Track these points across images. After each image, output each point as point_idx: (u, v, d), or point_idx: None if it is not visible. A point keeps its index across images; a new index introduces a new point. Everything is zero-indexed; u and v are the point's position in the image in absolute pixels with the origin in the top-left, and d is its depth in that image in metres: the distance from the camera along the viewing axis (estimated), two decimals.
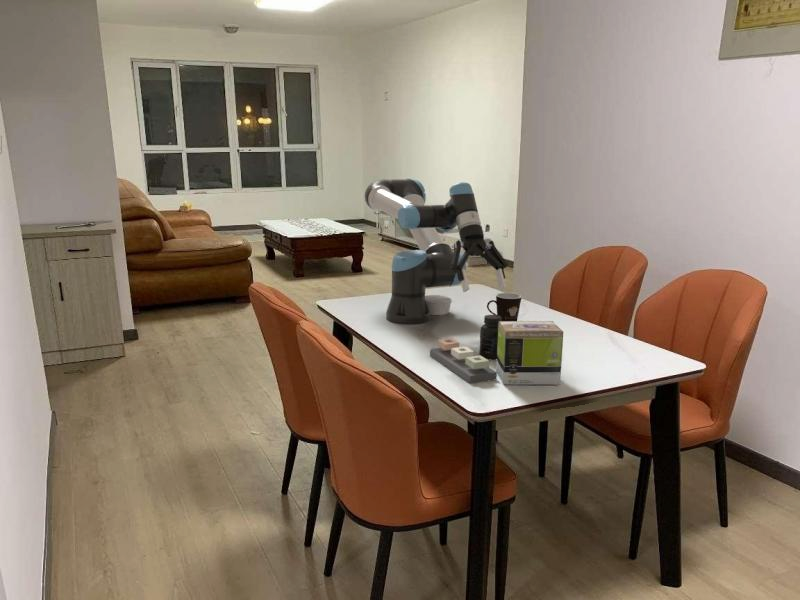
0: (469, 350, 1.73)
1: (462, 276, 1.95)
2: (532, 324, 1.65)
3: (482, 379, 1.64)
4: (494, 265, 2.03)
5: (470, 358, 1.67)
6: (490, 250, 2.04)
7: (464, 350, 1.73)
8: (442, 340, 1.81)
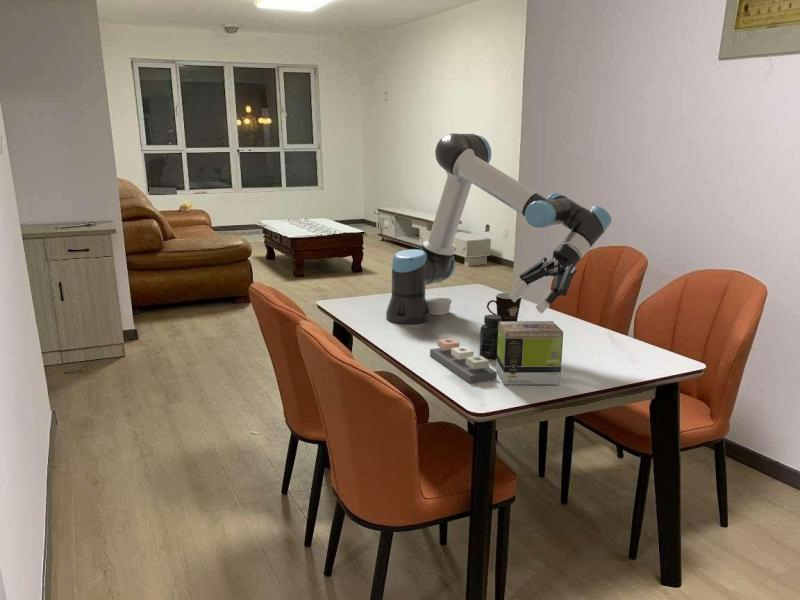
0: (469, 350, 1.73)
1: None
2: (532, 324, 1.65)
3: (482, 379, 1.64)
4: (530, 279, 1.91)
5: (470, 358, 1.67)
6: (541, 265, 1.91)
7: (464, 350, 1.73)
8: (442, 340, 1.81)
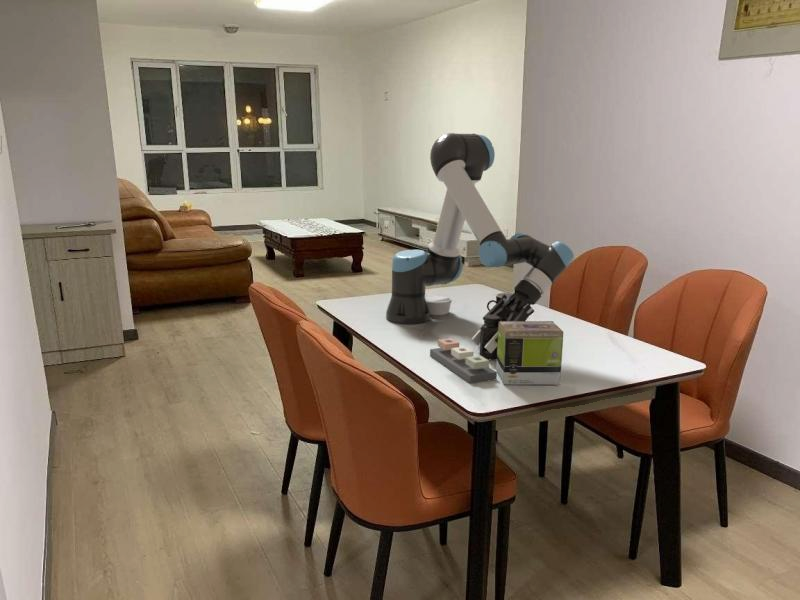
0: (469, 350, 1.73)
1: None
2: (532, 324, 1.65)
3: (482, 379, 1.64)
4: None
5: (470, 358, 1.67)
6: (502, 303, 1.88)
7: (464, 350, 1.73)
8: (442, 340, 1.81)
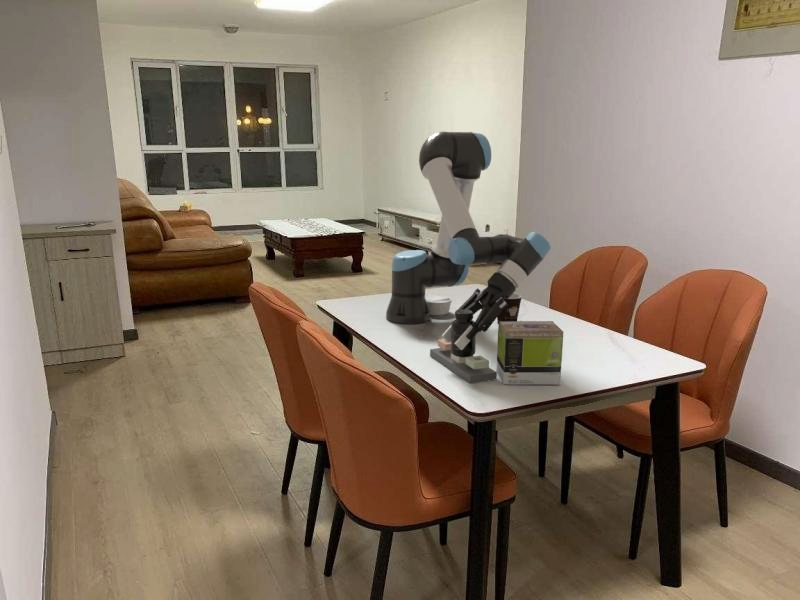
0: None
1: None
2: (532, 324, 1.65)
3: (482, 379, 1.64)
4: None
5: (470, 358, 1.67)
6: (475, 298, 1.78)
7: None
8: (442, 340, 1.81)
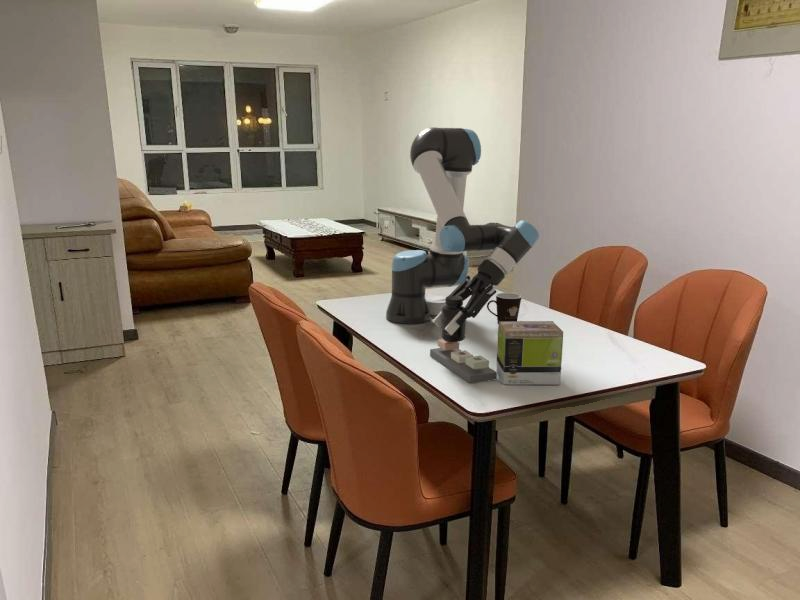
0: (469, 354, 1.73)
1: None
2: (532, 324, 1.65)
3: (482, 379, 1.64)
4: None
5: (470, 358, 1.67)
6: (465, 284, 1.82)
7: (464, 354, 1.73)
8: (442, 340, 1.81)
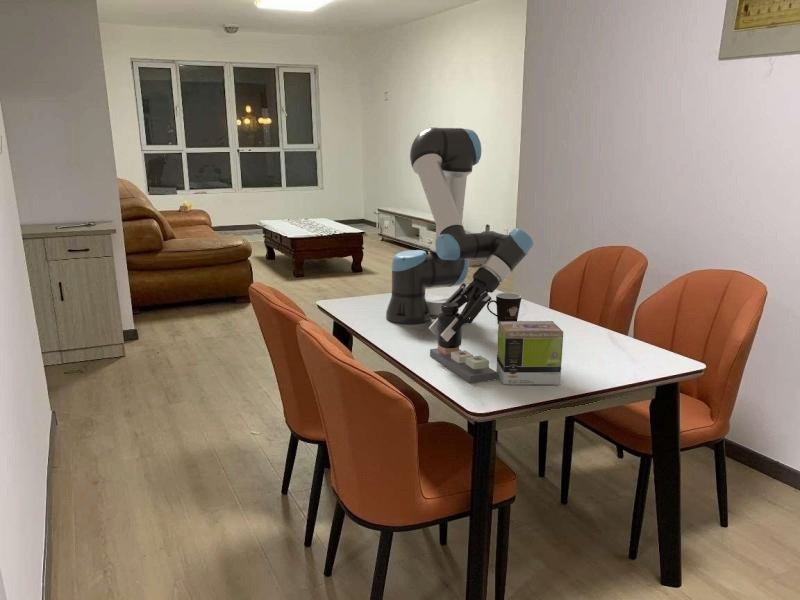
0: (469, 354, 1.73)
1: None
2: (532, 324, 1.65)
3: (482, 379, 1.64)
4: None
5: (470, 358, 1.67)
6: (461, 292, 1.85)
7: (464, 354, 1.73)
8: None
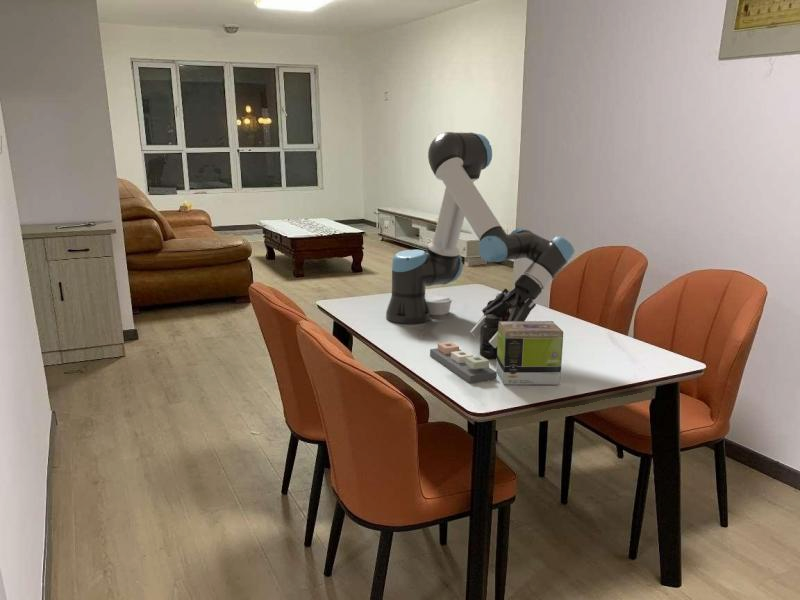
0: (469, 354, 1.73)
1: None
2: (532, 324, 1.65)
3: (482, 379, 1.64)
4: (492, 312, 1.87)
5: (470, 358, 1.67)
6: (503, 297, 1.88)
7: (464, 354, 1.73)
8: (442, 344, 1.82)
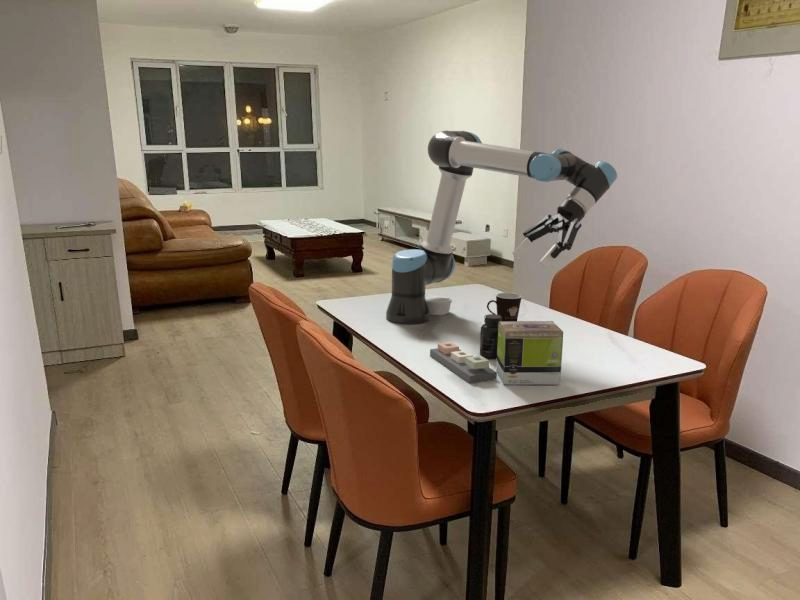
0: (469, 354, 1.73)
1: None
2: (532, 324, 1.65)
3: (482, 379, 1.64)
4: (534, 235, 1.88)
5: (470, 358, 1.67)
6: (545, 222, 1.88)
7: (464, 354, 1.73)
8: (442, 344, 1.82)
